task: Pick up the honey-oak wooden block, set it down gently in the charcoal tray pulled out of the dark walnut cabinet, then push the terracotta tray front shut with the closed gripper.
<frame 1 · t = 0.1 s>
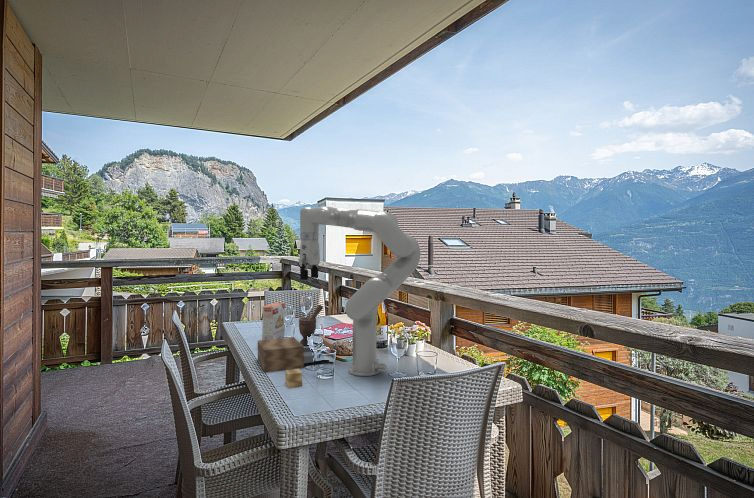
hand: (309, 278, 178), 37 cm above the table, tool pointing down, fingers open, 9 cm apart
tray: (309, 350, 187), point 4 cm above the table, slide at 11.0 cm
cracker box: (274, 347, 211), on the table
block: (293, 385, 156), on the table
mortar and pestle: (310, 344, 217), on the table
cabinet: (280, 363, 182), on the table
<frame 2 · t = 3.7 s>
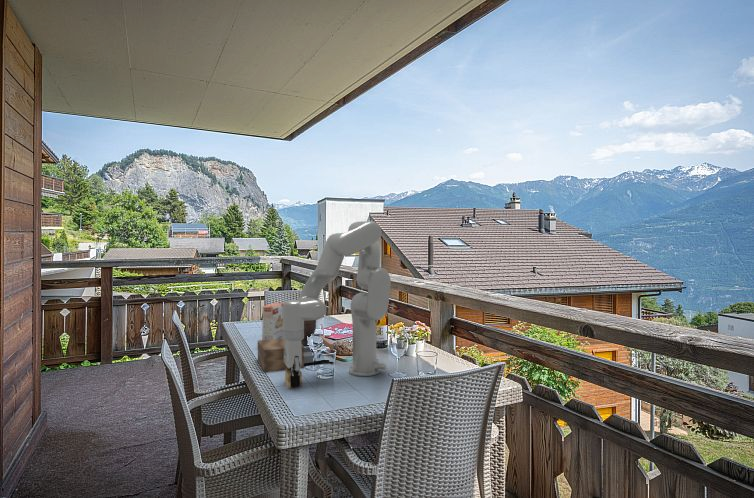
hand: (293, 383, 156), 0 cm above the table, tool pointing down, fingers closed on block, 5 cm apart
block: (293, 384, 156), on the table, touching gripper
everything else where it was.
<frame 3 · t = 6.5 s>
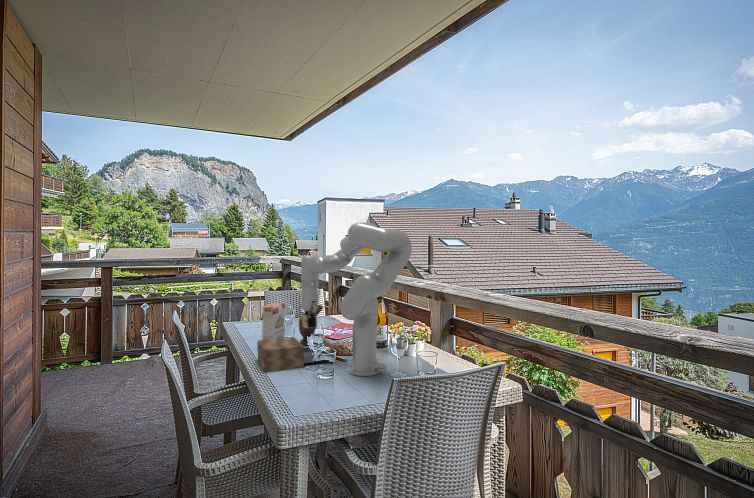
hand: (309, 325, 186), 16 cm above the table, tool pointing down, fingers closed on block, 4 cm apart
block: (309, 326, 186), point 15 cm above the table, touching gripper
everything else where it was.
when the fingers open (5 cm above the table, at t = 9.1 s): block drops 2 cm, resting on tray.
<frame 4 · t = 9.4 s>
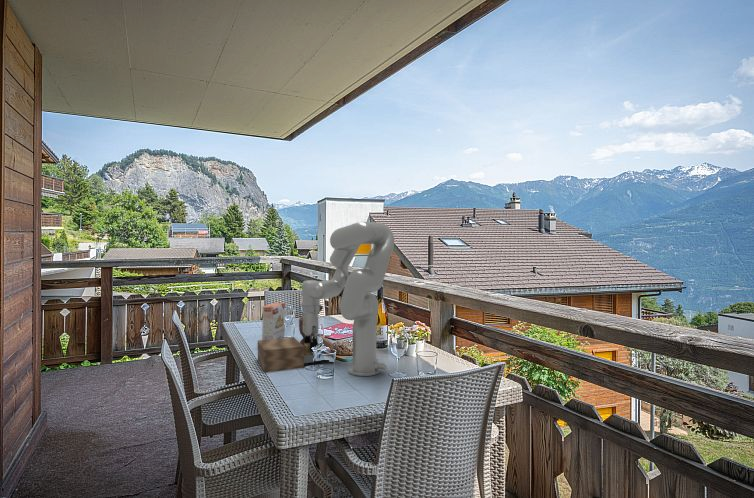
hand: (311, 348, 188), 5 cm above the table, tool pointing down, fingers open, 8 cm apart
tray: (309, 350, 187), point 4 cm above the table, slide at 11.0 cm, touching block
block: (310, 355, 188), point 2 cm above the table, touching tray
everything else where it was.
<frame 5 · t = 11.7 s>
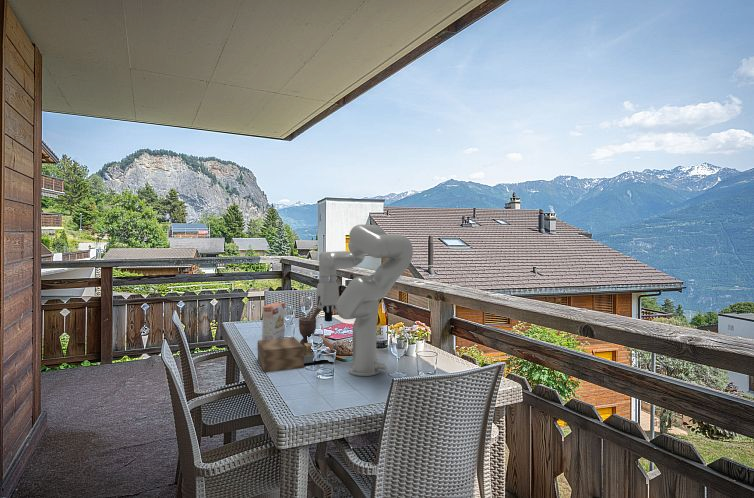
hand: (328, 321, 190), 17 cm above the table, tool pointing down, fingers closed
nothing on the table moved.
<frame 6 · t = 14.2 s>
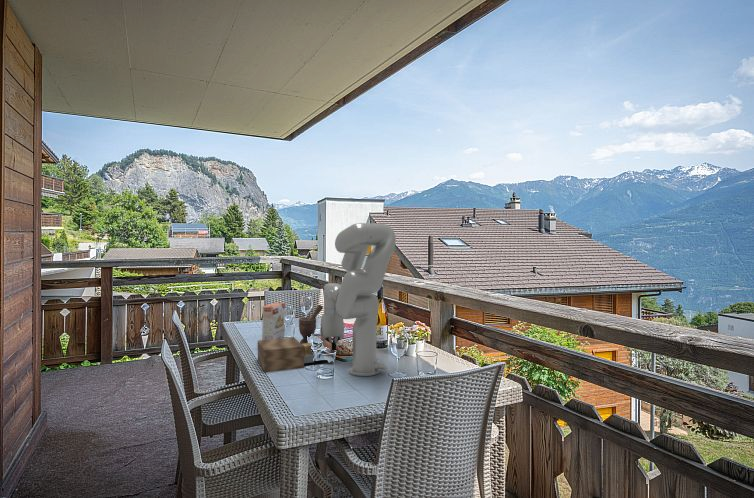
hand: (332, 351, 192), 3 cm above the table, tool pointing down, fingers closed
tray: (307, 350, 187), point 4 cm above the table, slide at 10.2 cm, touching block, gripper
everything else where it was.
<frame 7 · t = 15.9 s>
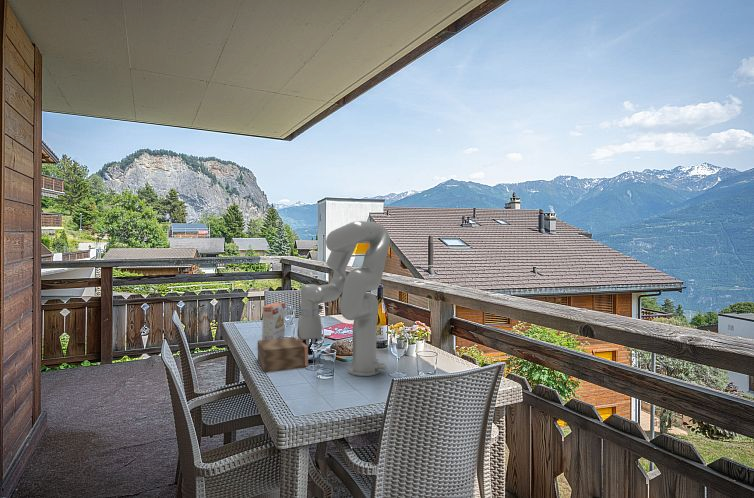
hand: (309, 354, 188), 3 cm above the table, tool pointing down, fingers closed
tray: (284, 353, 183), point 4 cm above the table, slide at -0.1 cm, touching block, gripper
block: (285, 358, 183), point 2 cm above the table, touching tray
everything else where it was.
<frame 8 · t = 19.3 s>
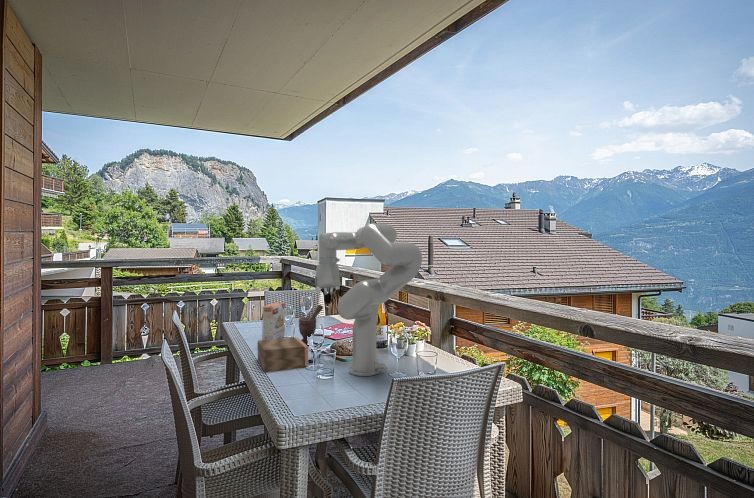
hand: (327, 303, 187), 25 cm above the table, tool pointing down, fingers closed
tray: (284, 353, 183), point 4 cm above the table, slide at 0.0 cm, touching block
everything else where it was.
at the end: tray slide at 0.0 cm; block 0.2 cm from the target spot on the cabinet, point 2.1 cm above the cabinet's base; block tilted 0° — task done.
